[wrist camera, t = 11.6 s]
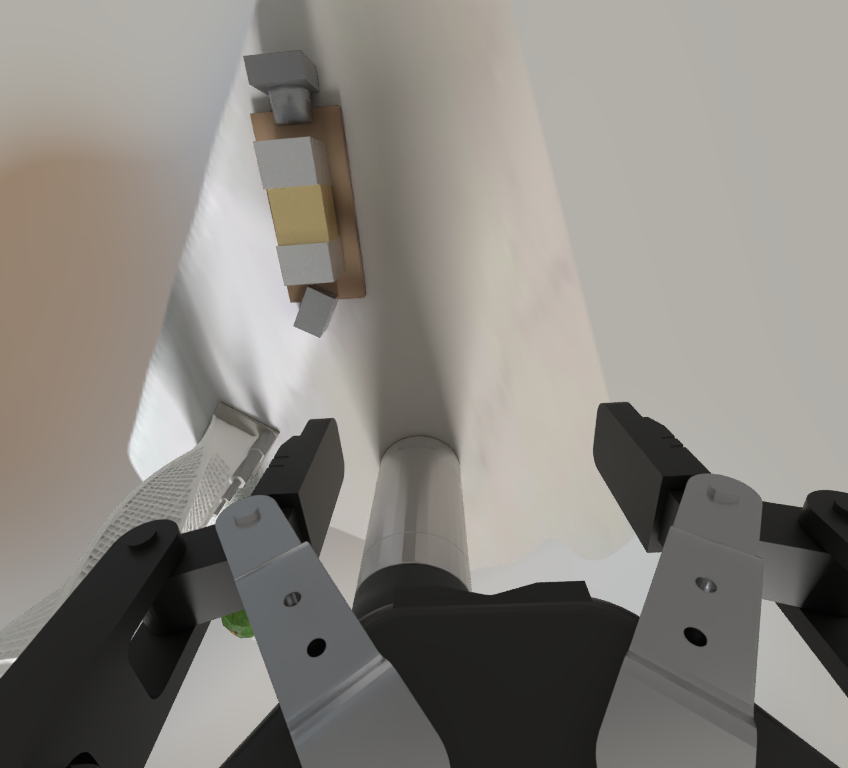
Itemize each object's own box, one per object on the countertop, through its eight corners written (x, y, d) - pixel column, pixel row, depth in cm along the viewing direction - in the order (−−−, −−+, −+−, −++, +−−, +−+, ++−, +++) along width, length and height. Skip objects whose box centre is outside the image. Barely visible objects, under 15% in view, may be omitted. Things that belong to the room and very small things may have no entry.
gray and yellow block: (326, 143, 33) (309, 136, 28) (345, 271, 37) (333, 281, 33) (277, 148, 33) (253, 141, 29) (302, 274, 37) (284, 285, 33)
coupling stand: (370, 326, 40) (364, 339, 37) (300, 331, 41) (287, 344, 37) (334, 61, 32) (321, 44, 28) (245, 70, 32) (221, 54, 28)
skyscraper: (250, 483, 49) (53, 796, 24) (184, 451, 47) (-104, 753, 22) (279, 432, 46) (89, 730, 21) (210, 396, 44) (-91, 673, 19)
